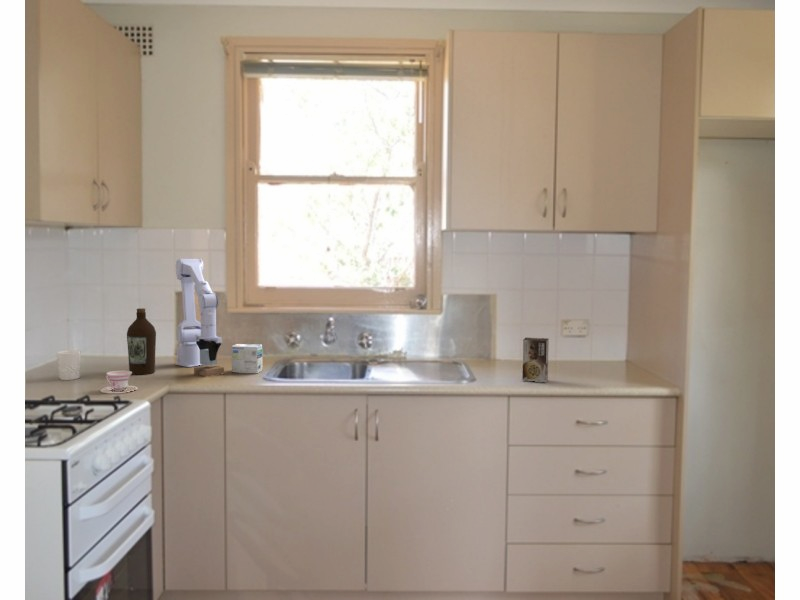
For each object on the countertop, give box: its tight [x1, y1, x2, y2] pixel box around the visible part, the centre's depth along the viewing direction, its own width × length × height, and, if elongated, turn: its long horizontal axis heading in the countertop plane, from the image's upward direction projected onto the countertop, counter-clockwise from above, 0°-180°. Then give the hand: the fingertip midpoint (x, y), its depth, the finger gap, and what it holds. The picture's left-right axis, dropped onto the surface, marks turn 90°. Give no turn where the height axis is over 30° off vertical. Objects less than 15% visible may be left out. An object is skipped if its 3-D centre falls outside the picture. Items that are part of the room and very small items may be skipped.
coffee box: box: [521, 337, 549, 384], centre depth 266 cm, size 9×6×16 cm
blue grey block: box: [200, 349, 218, 366], centre depth 271 cm, size 4×4×6 cm
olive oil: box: [126, 307, 157, 376], centre depth 272 cm, size 11×11×25 cm
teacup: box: [99, 370, 139, 395], centre depth 241 cm, size 12×12×6 cm
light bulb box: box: [231, 343, 263, 374], centre depth 277 cm, size 11×7×11 cm, turn 84°
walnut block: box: [193, 364, 225, 377], centre depth 272 cm, size 8×8×3 cm
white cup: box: [56, 349, 81, 381], centre depth 260 cm, size 8×8×10 cm
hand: (208, 359), depth 272 cm, fingers closed on blue grey block, 4 cm apart
